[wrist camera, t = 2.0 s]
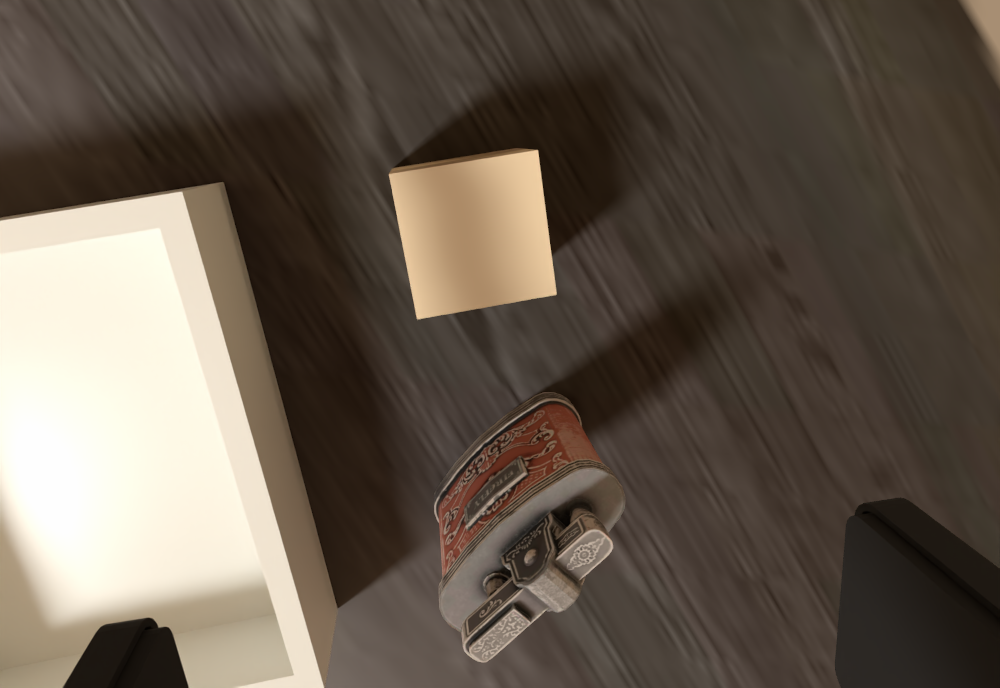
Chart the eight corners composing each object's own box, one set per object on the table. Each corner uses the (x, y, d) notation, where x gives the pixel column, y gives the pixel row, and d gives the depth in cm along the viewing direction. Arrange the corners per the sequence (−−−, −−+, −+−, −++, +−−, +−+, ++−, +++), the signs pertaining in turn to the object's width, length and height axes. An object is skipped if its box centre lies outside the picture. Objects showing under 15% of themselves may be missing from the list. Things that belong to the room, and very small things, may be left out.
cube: (516, 148, 28) (537, 149, 23) (533, 269, 29) (556, 294, 24) (393, 167, 27) (388, 174, 23) (416, 289, 29) (417, 319, 24)
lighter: (544, 375, 31) (603, 483, 21) (593, 423, 32) (671, 548, 22) (416, 495, 31) (417, 650, 22) (468, 539, 32) (490, 705, 23)
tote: (223, 181, 27) (182, 191, 22) (337, 609, 33) (324, 689, 28) (-213, 251, 26) (-356, 277, 21) (-11, 680, 32) (-87, 776, 27)
